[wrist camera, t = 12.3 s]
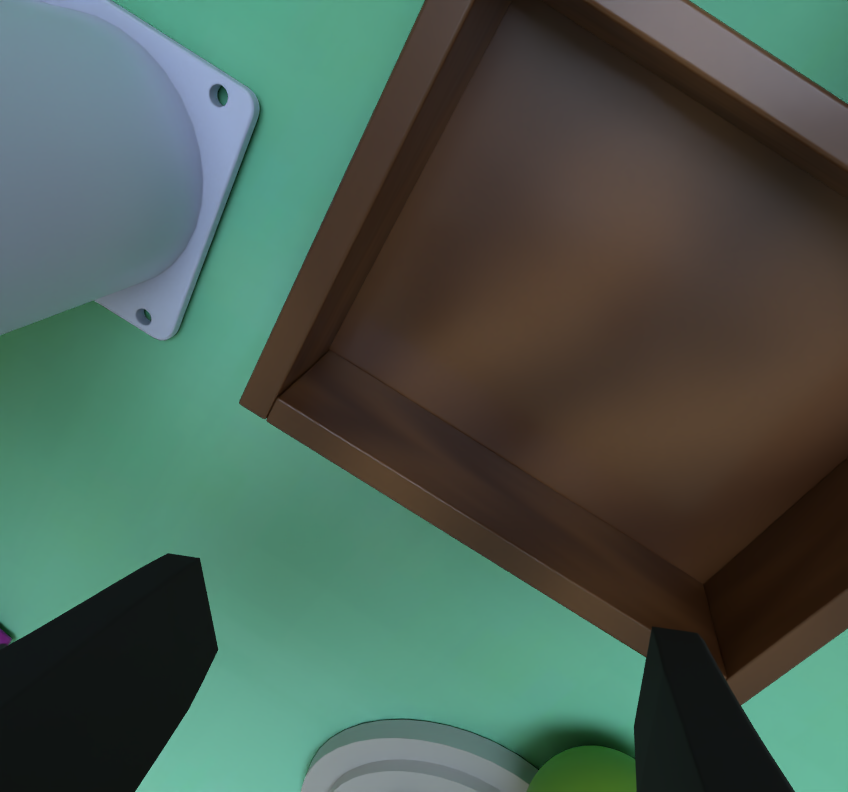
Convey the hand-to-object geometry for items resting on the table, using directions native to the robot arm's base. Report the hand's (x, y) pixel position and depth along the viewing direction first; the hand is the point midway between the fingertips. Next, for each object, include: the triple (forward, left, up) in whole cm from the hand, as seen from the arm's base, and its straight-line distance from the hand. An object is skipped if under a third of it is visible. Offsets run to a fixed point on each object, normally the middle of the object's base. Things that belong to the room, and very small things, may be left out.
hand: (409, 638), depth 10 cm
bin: (+2, +4, -9) cm, 10 cm away
